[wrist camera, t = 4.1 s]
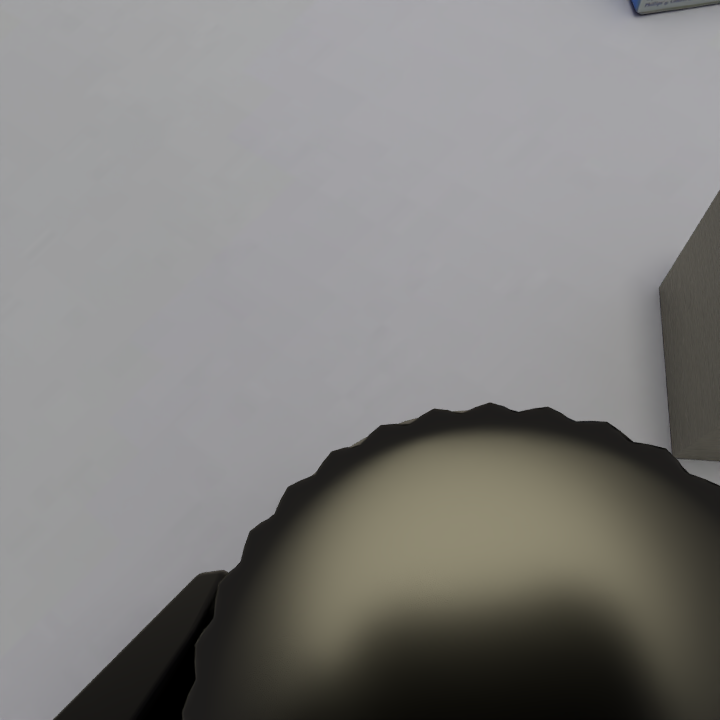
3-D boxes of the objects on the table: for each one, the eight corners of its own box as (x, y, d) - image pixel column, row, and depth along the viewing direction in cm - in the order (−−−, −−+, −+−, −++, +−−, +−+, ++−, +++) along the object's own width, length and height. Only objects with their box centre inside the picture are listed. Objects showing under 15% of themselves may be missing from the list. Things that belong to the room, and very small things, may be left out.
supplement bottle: (322, 519, 17) (72, 340, 6) (578, 482, 16) (831, 207, 5) (350, 825, 14) (-14, 1550, 3) (658, 794, 14) (1511, 1554, 3)
